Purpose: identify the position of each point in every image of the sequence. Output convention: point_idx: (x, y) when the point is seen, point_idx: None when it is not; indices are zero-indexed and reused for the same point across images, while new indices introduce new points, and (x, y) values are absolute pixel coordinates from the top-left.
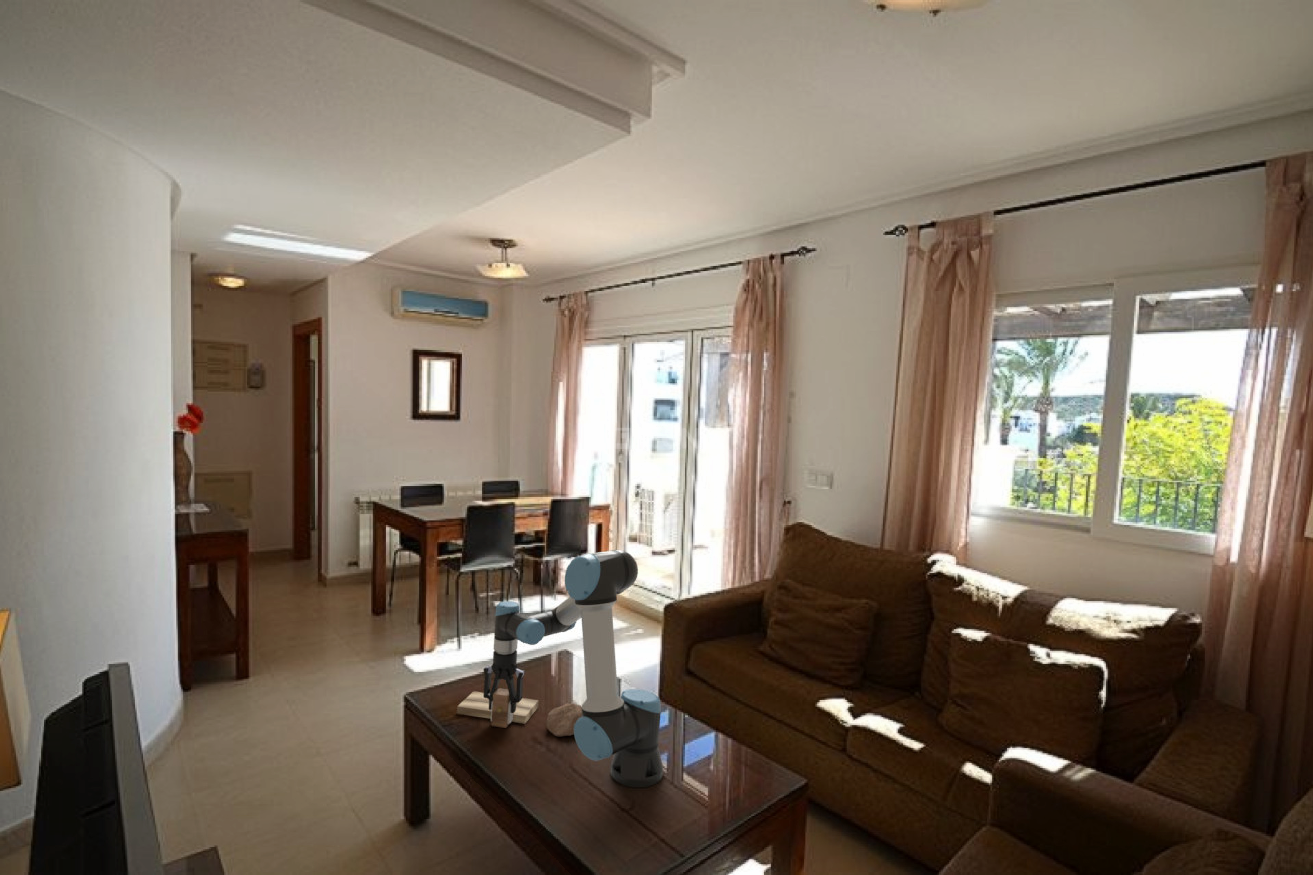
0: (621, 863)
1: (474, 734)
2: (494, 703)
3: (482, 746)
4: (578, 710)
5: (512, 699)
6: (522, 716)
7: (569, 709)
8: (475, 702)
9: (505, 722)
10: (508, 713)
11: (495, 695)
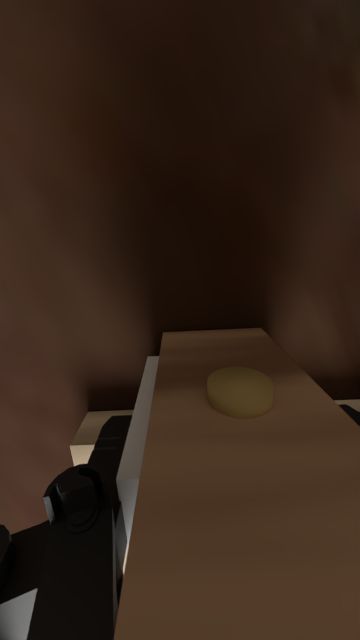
0: None
1: (329, 190)
2: (338, 433)
3: (205, 24)
4: None
5: (67, 565)
6: (93, 440)
7: None
8: None
9: (167, 345)
10: (151, 396)
11: None
